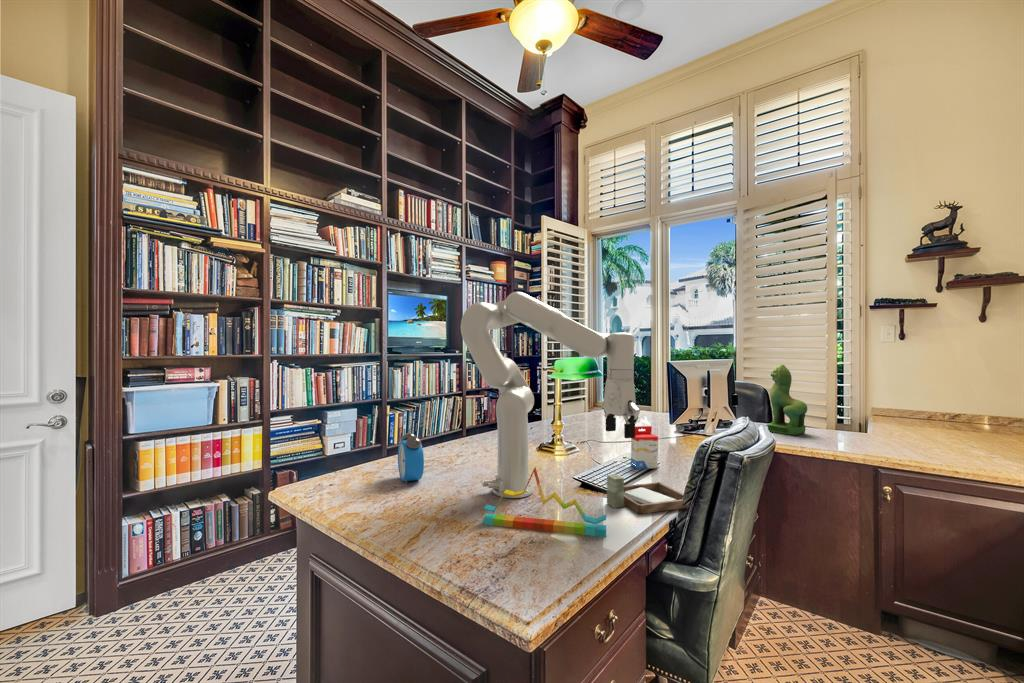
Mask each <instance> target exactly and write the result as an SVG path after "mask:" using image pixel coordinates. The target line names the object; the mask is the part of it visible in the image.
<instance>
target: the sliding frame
mask: <svg viewBox="0 0 1024 683" xmlns="http://www.w3.org/2000/svg"><path fill="white" fill-rule="evenodd" d="M606 476H607V478H606V503H607V504H608V505H610V506H611V507H612V508H614V509H615V508H624V507H628V508H629V509H631V510H632V511H634V512H636V513H637V514H639V515H642V514H651V513H657V512H664V511H673V510H682V509H689V508H693V507H694V504H693V505H692V504H691V505H683V506H681V505H682V501H683V499H682V498H683V494H684V493H682V492H680V491H678V490H676V489H674V488H673V487H672V488H671V487H669V485H666V484H664V483H662V482H660V481H659V482H648V483H640V484H639V483H638V484H630V485H625V478H624V477H623V476H621V475H619V474H618V473H616V474H615V473H613V474H607V475H606ZM640 487H643V488H646V489H648V490H651V491H654V492H657V491H660V492H661V493H662V494H663V493H664V494H665V495H666V496H668V497H671V498H674V499H676V500H673V501H665V502H657V503H648V504H643V503H640V502H638V501H635V500H632V499H631V498H629V497H627V496H626V495H624V492H626V491H629V490H633V489H636V488H640Z"/></svg>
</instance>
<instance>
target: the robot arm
mask: <svg viewBox="0 0 1024 683" xmlns="http://www.w3.org/2000/svg"><path fill="white" fill-rule="evenodd" d="M518 323H521V324H523V325H525V326H526V327H529V328H530V329H533V330H534V331H536V332H538V333H540V334H542V335H544V336H545V337H547V338H548V339H551V340H554V341H556V342H557V343H559V344H561V345H563V346H565V347H567V348H569V349H570V350H572V351H574V352H576V353H578V354H580V355H581V356H583V357H586V358H588V359H596V358H599V357H606V358H607V359H606V363H607V364H606V368H607V369H606V381H605V386H604V394H603V396H604V397H603V401H602V406H603V412H604V417H605V431H606V432H615V431H616V430H617V418H616V416H617V417H623V420H624V422H625V423H624V425H623V426H624V427H623V428H624V430H623V431H624V432H623V434H624V435H623V438H625V439H631V438H635V427H636V424H637V421H638V419H639V415H640V411H641V410H640V409H639V407H638V406H637V405H636V404H637V403H636V402H637V400H636V390H635V388H636V387H635V381H634V378H635V376H634V374H635V372H634V371H635V367H634V366H635V336H634V334H632V333H630V332H612V333H603V332H597V331H595V330H593V329H591V328H589V327H587V326H585V325H583V324H581V323H580V322H577V321H575V320H574V319H571V318H570V317H568V316H567V315H565V313H563V311H561V310H558V309H557V308H555V307H553V306H550V305H549V304H547V303H544V302H542V300H541V301H540V300H539V299H537V298H535V297H533V296H530V295H529V294H527V293H525V292H523V291H514V292H510V294H509V295H507V297H506V298H505V300H501V301H497V302H494V303H490V302H487V301H486V302H485V301H477V302H474V303H472V304H470V305H469V306H468V307H467V308H466V310H465V311H464V312H463V314H462V317H461V321H460V335H461V337H462V340H463V342H464V345H465V347H466V348H467V350H468V352H469V353H470V355H471V358H472V360H473V362H474V363H475V365H476V368H477V369H478V372H479V373H480V375H481V376H482V378H483V380H484V381H483V382H485V384H486V385H487V386H488V387H490V388H493V389H498V391H499V392H500V395H499V397H498V398H497V401H496V405H495V415H496V422H497V424H496V425H497V426H496V427H497V467H496V468H497V474H496V475H494V477H493V478H491V479H483V480H482V479H481V486H482V487H483V488H484V487H485V488H488V489H492V490H491V491H492V493H493V494H494V495H496V496H498V497H500V498H501V497H502V495H503V493H504V492H505V490H510V491H514V492H517V491H521V490H525V488H526V485H527V483H528V481H529V443H530V442H529V439H530V438H529V419H528V417H529V416H528V413H530V412H531V411H532V409H533V407H534V405H535V396H534V393H533V391H532V389H531V388H530V386H529V384H528V382H527V381H526V380H527V379H525V377H524V375H523V373H522V371H521V369H520V368H519V366H518V364H516V362H515V361H514V360H512V359H511V358H509V357H506V356H504V355H503V354H502V353H501V351H500V349H499V347H498V345H497V343H496V342H495V340H494V339H493V337H492V336H491V334H490V332H489V331H490V330H492V331H493V330H497V329H500V328H505V327H508V326H511V325H516V324H518ZM533 492H534V487H533V486H532V485H531V484H528V486H527V488H526V490H525V492H524V494H522V495H518V496H515V497H512V496H508V495H505V494H504V496H503V497H502V498H506V499H521V498H526V497H529V496H531V495H532V494H533Z"/></svg>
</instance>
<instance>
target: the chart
mask: <svg viewBox="0 0 1024 683" xmlns="http://www.w3.org/2000/svg"><path fill="white" fill-rule="evenodd" d="M533 474H534V476H535V480H536V485H537V488H538V492H539V495H540V498H541V503H542V504H543V505H545V504H546V503H548V502H549V501H551V500H552V499H553V498H554V499H555V501H556V502H557V503H558V504H559V505H560V507H561V508H562V509H563V510H565V509H568V508H570V507H571V506H573V505H574V506H575V508H576V509H577V511H578V513H579V515H580V516H581V517H582V519H583V521H584V522H577V521H568V520H567V521H566V520H557V519H556V520H555V519H546V518H536V517H535V518H534V517H529V516H528V517H525V516H517V515H509V514H508V515H506V514H497V513H495V511H496V510H497V508H498V506H499V505H500V503H501V501H502V498H504V497H503V496H504V494H505V495H508V496H512V497H515V496H518V495H522V494H524V492H525V490H526V488H527V486H528V484H529V483H530V481H531V479H532V477H533ZM529 485H530V484H529ZM526 488H525V490H521V491H517V492H514V491H510V490H505V492H504V493H503V495H502V497H500V498H499V500H498V502H497V504H496V506H493V505H489V504H486V505H485V506H484V508H483V510H484V511H488V512H486V514H485V515H484V517H483V525H486V526H487V525H488V526H489V525H490V526H499V527H506V528H507V527H508V528H518V529H525V530H526V529H527V530H534V531H536V530H537V531H546V532H555V533H564V534H575V535H582V536H584V535H585V536H593V537H601V538H602V537H603V538H606V537H607V525H605V524H600V523H601V522H604V521H607V514H603V515H600V516H599V517H598V516H597V517H591V516H588V515H586V514H585V513H584V511H583V509H582V507H581V506H580V504H579V503H578V501H577V500H576V498H574V499H572V500H570V501H568V502H567V503H565V502H564V501H563V499H562V498H561V497H560V496H559V495H558V493H556V491H555V492H553V493H552V494H550V495H549V496H548V497H546V498H545V497H544V492H543V488H542V484H541V482H540V478H539V474H538V471H537V468H536V467H534V469H533V470H532V473H531V474H530V477H529V478H528V483H527V485H526ZM489 512H492V513H489Z"/></svg>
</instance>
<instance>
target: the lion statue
mask: <svg viewBox="0 0 1024 683" xmlns="http://www.w3.org/2000/svg"><path fill="white" fill-rule="evenodd" d="M770 377H772V378H771V380H772V381H774V384H773V385H772V386H771V388H770V391H769V396H770V397H769V399H770V402H771V407H772V416H773V417H772V418H773V420H772V421H771V422H770V423H767V424H766V427H767V431H768V430H769V431H771V432H770V433H775V434H780V435H785V436H786V435H787V436H799V435H802V434H803V435H804V434H805V433H806V425H805V419H806V414H807V413H808V406H807V403H805V402H804V401H803V400H801V399H796V398H793V397H792V396H791V395H790V389H791V386H792V380H793V379H792V374H791V371H790V370H789V368H787V367H786V365H785V364H780V365H778V366H776V367H775V368H774V369H773V371H771V372H770ZM785 415H786V416H787V417H788V418H789V422H786V419H785V418H786V416H785ZM769 431H768V432H769Z"/></svg>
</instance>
